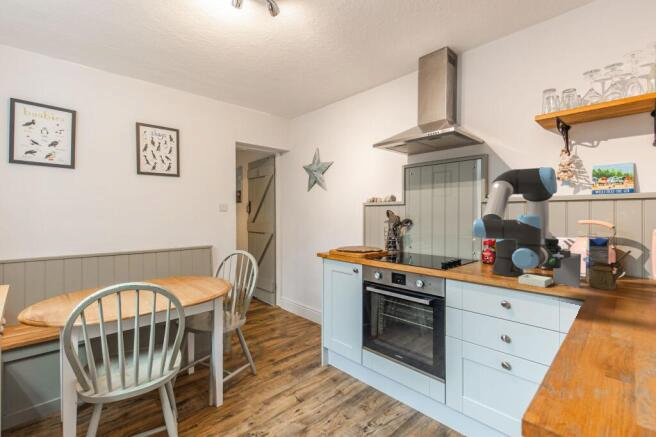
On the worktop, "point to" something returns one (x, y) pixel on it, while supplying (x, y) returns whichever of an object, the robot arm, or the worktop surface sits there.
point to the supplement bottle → (554, 250)
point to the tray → (535, 280)
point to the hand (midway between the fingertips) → (554, 250)
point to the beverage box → (595, 254)
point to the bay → (568, 271)
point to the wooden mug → (606, 274)
